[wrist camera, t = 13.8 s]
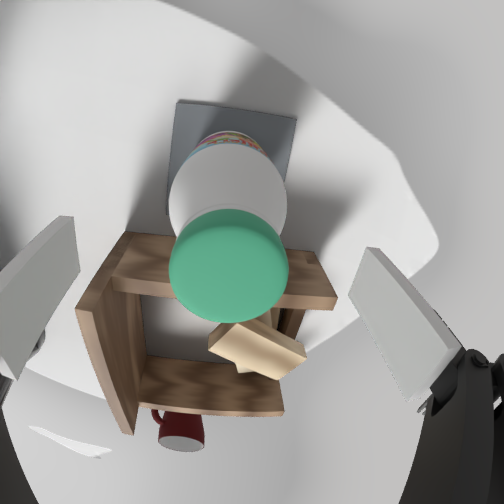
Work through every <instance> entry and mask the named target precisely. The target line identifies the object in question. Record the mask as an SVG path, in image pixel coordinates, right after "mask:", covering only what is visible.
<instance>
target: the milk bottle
mask: <svg viewBox="0 0 504 504" xmlns="http://www.w3.org/2000/svg"><path fill="white" fill-rule="evenodd" d="M169 215H170V221H171V224H172V227H173V230H174V232H175V234H176V236H177V239H176V242H175V244H174V247H173V249H172V253H171V257H170V261H169V278H170V283H171V287H172V289H173V292H174V294H175V295H176V297H177V299H178V300H179V301H180V302H181V304H182V305H183V306H184V307H186V308H187V309H188V310H189V311H191V312H192V313H194V314H195V315H197V316H199V317H201V318H204V319H207V320H210V321H214V322H220V323H237V322H243V321H247V320H250V319H253V318H256V317H258V316H260V315H262V314H263V313H265V312H267V311H268V310H269V309H270V308H272V307H273V306H274V305H275V304H276V303H277V302H278V300H279V299H280V298H281V296H282V294H283V292H284V290H285V288H286V285H287V281H288V274H289V265H288V259H287V255H286V252H285V249H284V246H283V244H282V242H281V239H280V234H281V232H282V229H283V227H284V224H285V220H286V215H287V195H286V190H285V186H284V183H283V180H282V178H281V175H280V174H279V172H278V170H277V168H276V167H275V165H274V163H273V162H272V161H271V159H270V158H269V157H268V155H267V154H266V153H265V152H264V150H263V149H262V148H261V147H260V146H259V144H258V143H257V142H256V141H254V140H253V139H252V138H250V137H249V136H247V135H245V134H243V133H240V132H236V131H221V132H217V133H214V134H212V135H210V136H208V137H206V138H205V139H204V140H202V141H201V142H200V143H199V144H198V145H197V146H196V147H195V149H194V150H193V151H192V152H191V154H190V155H189V156H188V157H187V159H186V160H185V161H184V163H183V164H182V166H181V167H180V169H179V171H178V173H177V174H176V176H175V178H174V181H173V184H172V187H171V191H170V196H169Z"/></svg>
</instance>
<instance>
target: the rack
mask: <svg viewBox="0 0 504 504" xmlns="http://www.w3.org/2000/svg"><path fill="white" fill-rule="evenodd" d="M176 239H177V237H174V236H164V235H155V234H145V233H135V232H126V231H125V232H124V233H123V234H122V236H121V237H120V239H119V240H118V241H117V243H116V244H115V246H114V247H113V249H112V250H111V252H110V253H109V255H108V256H107V258H106V259H105V261H104V262H103V264H102V265H101V267H100V268H99V270H98V271H97V273H96V274H95V276H94V277H93V279H92V281H91V282H90V284H89V285H88V287H87V289H86V290H85V292H84V294H83V295H82V297H81V299H80V300H79V302H78V304H77V305H76V307H75V312H76V316H77V319H78V323H79V326H80V330H81V333H82V336H83V339H84V342H85V345H86V348H87V351H88V354H89V357H90V360H91V363H92V365H93V368H94V371H95V373H96V376H97V378H98V381H99V383H100V386H101V388H102V391H103V393H104V395H105V398H106V400H107V402H108V404H109V407H110V409H111V411H112V413H113V415H114V417H115V419H116V421H117V423H118V425H119V427H120V429H121V431H122V433H124V434H128V435H134V430H135V424H136V418H137V413H138V407H144V408H150V409H157V410H164V411H171V412H180V413H190V414H201V415H216V416H242V417H247V416H248V417H272V416H282V415H283V413H284V405H283V400H282V394H281V389H280V383H279V380H275V379H272V378H270V377H267V376H265V375H262V374H260V373H258V372H255V371H253V372H246V373H238V371H237V367H236V364H224V363H211V362H199V361H189V360H180V359H171V358H164V357H156V356H149V355H147V352H146V344H145V336H144V328H143V319H142V309H141V298H140V294H143V295H151V296H158V297H167V298H175V299H177V297H176V295H175V294H174V292H173V289H172V287H171V283H170V278H169V261H170V257H171V253H172V249H173V247H174V244H175V242H176ZM285 252H286V255H287V259H288V265H289V274H288V281H287V285H286V288H285V290H284V292H283V294H282V296H281V298H280V299H279V300H278V302H277V303H276V304H275V305H274V306H273V307H275V308H285V310H284V313H283V316H282V320H281V323H280V326H279V329H278V332H280V333H282V334H284V335H286V336H288V337H290V338H292V339H293V340H295V338H296V335H297V332H298V330H299V327H300V324H301V322H302V319H303V316H304V313H305V311H306V309H311V310H333V309H334V306H335V304H336V301H337V299H338V297H337V295H336V293H335V291H334V289H333V287H332V285H331V283H330V281H329V279H328V277H327V275H326V274H325V272H324V270H323V268H322V266H321V264H320V262H319V260H318V259H317V257H316V255H315V253H314V252H310V251H301V250H292V249H285Z"/></svg>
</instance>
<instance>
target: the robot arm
mask: <svg viewBox="0 0 504 504" xmlns="http://www.w3.org/2000/svg"><path fill="white" fill-rule="evenodd" d="M79 273H80V265H79V258H78V252H77V244H76V236H75V227H74V217H72V216H59V217H57V218H56V219H55V220H54V221H53V222H52V223H50V224H49V225H48V226H47V227H46V228H45V229H44V230H42V231H41V232H40V233H39V234H38V235H37V236H36V237H35V238H34V239H33V240H32V241H30V242H29V243H28V244H27V245H26V246H25V247H24V248H23V249H22V250H21V251H20V252H19V253H18V254H17V255H16V256H15V257H14V258H13V259H12V260H11V261H10V262H9V263H8V264H7V265H6V266H5V267H4V268H3V269H1V270H0V504H39V503H38V502H37V500H36V498H35V496H34V494H33V492H32V490H31V488H30V485H29V483H28V481H27V479H26V477H25V475H24V472H23V470H22V468H21V465H20V463H19V460H18V458H17V455H16V452H15V450H14V447H13V444H12V442H11V438H10V436H9V432H8V429H7V426H6V422H5V419H4V415H3V411H2V405H3V403H4V401H5V398H6V396H7V394H8V391H9V389H10V387H11V385H12V382H13V380H16V381H18V379H19V377H20V374H21V372H22V370H23V368H24V366H25V364H26V362H27V361H28V360H29V359H30V358H32V357H33V356H34V355H35V354H36V353H38V351H39V350H40V348H41V346H42V345H43V343H44V340H45V333H44V328H45V327H46V325H47V323H48V321H49V320H50V318H51V316H52V315H53V313H54V311H55V310H56V308H57V306H58V305H59V303H60V302H61V300H62V298H63V297H64V295H65V294H66V292H67V291H68V289H69V288H70V286H71V285H72V283H73V281H74V280H75V279H76V277H77V276H78V274H79ZM348 296H349V298H350V299H351V301H352V303H353V305H354V306H355V308H356V310H357V311H358V313H359V315H360V317H361V318H362V320H363V322H364V324H365V325H366V327H367V329H368V331H369V332H370V334H371V336H372V338H373V340H374V341H375V343H376V345H377V347H378V349H379V350H380V352H381V354H382V356H383V358H384V360H385V362H386V363H387V365H388V367H389V369H390V371H391V373H392V375H393V377H394V379H395V380H396V383H397V385H398V387H399V389H400V391H401V392H402V394H403V397H404V399H405V401H406V402H408V401H412V400H415V399H419V398H421V397H422V396H423V395H424V394H425V392H426V391H427V390H428V389H429V388H430V389H431V391H432V394H431V396H430V397H429V398H428V399H427V400H426V401H425V402H424V403H423V404H422V405H421V406H420V407H419V409H418V411H417V412H418V413H419V412H420V411H421V410H422V409H423V408H424V407H426V411H424V412H423V415H425V417H424V421H423V426H422V430H421V435H420V439H419V443H418V446H417V450H416V454H415V457H414V461H413V464H412V467H411V471H410V474H409V477H408V480H407V482H406V486H405V488H404V491H403V493H402V496H401V499H400V501H399V504H504V354H501V355H500V356H499V357H498V359H497V360H496V361H495V363H489V361H488V360H487V359H486V357H485V356H484V355H483V354H482V353H480V352H479V351H477V350H474V349H469V350H467V351H466V350H465V348H464V347H463V346H462V344H461V343H460V342H459V340H458V339H457V338H456V336H455V335H454V334H453V332H452V331H451V330H450V328H448V327H447V325H446V323H445V322H444V321H442V318H441V317H440V316H439V315H438V313H437V312H436V311H435V310H434V309H433V308H432V307H431V306H430V305H429V304H428V303H427V301H426V300H425V299H424V298H423V297H422V295H421V294H420V293H419V292H418V291H417V290H416V288H415V287H414V286H413V285H412V284H411V283H410V282H409V280H408V279H407V278H406V277H405V276H404V275H403V274H402V273H401V271H400V270H399V269H398V268H397V267H396V266H395V265H394V264H393V263H392V262H391V260H390V259H389V258H388V257H387V256H386V255H385V254H384V253H383V252H382V251H381V250H380V249H379V248H372V247H366V249H365V252H364V255H363V257H362V260H361V263H360V265H359V268H358V271H357V273H356V276H355V278H354V281H353V283H352V286H351V288H350V291H349V293H348ZM500 396H501V399H502V402H501V403H500V404H499V405H498V406H497V407H496V408H495V410H494V407H493V403H494V402H495V401H496V400H497V399H498V398H499V397H500Z"/></svg>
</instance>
